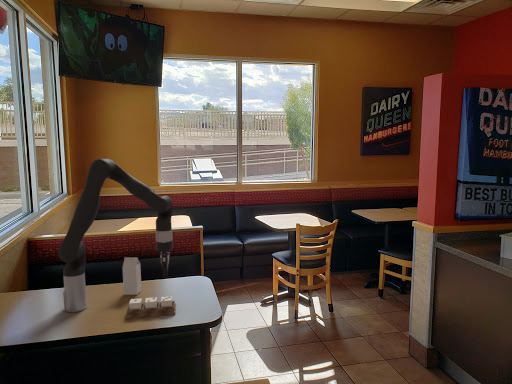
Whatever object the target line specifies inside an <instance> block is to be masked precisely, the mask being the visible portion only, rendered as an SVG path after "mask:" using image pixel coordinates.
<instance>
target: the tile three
mask: <svg viewBox="0 0 512 384" xmlns="http://www.w3.org/2000/svg"><path fill="white" fill-rule="evenodd" d="M172 301H173V296H172V295H170V296H161V297H160V302H161V307H171V306H172Z"/></svg>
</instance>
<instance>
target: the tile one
mask: <svg viewBox="0 0 512 384" xmlns="http://www.w3.org/2000/svg"><path fill="white" fill-rule="evenodd" d="M142 303H143V298H142V297H141V298H131V299H130V301H129V303H128V305H129V309H130V310H132V309H141V307H142Z"/></svg>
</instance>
